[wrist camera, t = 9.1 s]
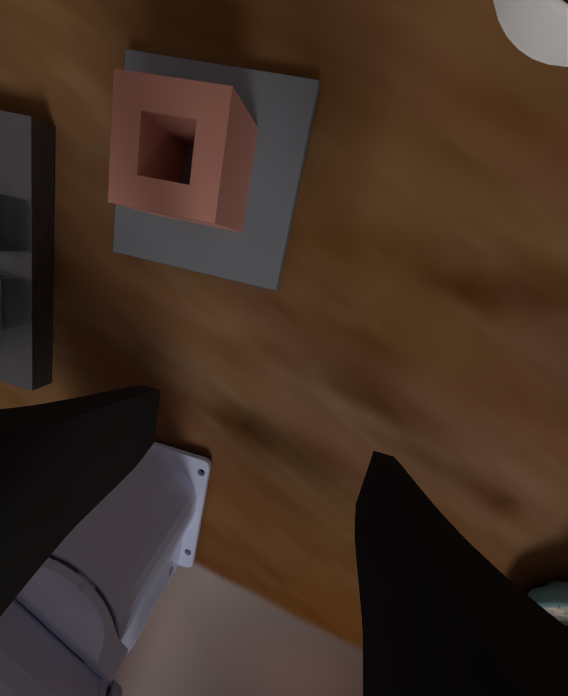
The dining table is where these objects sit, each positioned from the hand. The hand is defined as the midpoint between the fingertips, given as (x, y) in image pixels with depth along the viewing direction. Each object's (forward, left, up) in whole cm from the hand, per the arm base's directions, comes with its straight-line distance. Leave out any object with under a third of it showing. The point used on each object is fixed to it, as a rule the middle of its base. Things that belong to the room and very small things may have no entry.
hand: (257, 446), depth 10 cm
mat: (+9, +7, -9) cm, 15 cm away
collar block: (+9, +7, -9) cm, 14 cm away
